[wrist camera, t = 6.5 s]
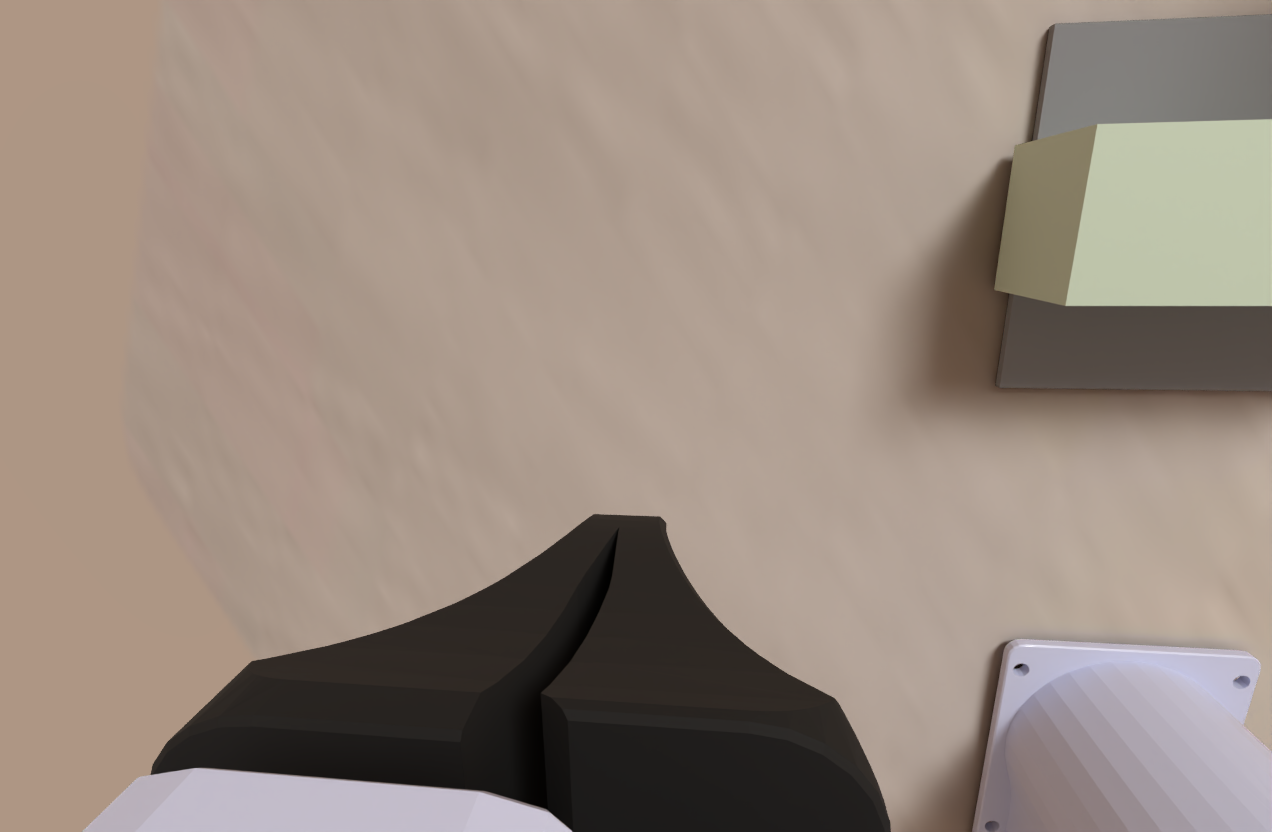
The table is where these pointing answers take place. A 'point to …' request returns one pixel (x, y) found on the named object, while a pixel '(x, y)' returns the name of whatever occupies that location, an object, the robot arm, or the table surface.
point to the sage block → (1142, 216)
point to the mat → (1146, 93)
